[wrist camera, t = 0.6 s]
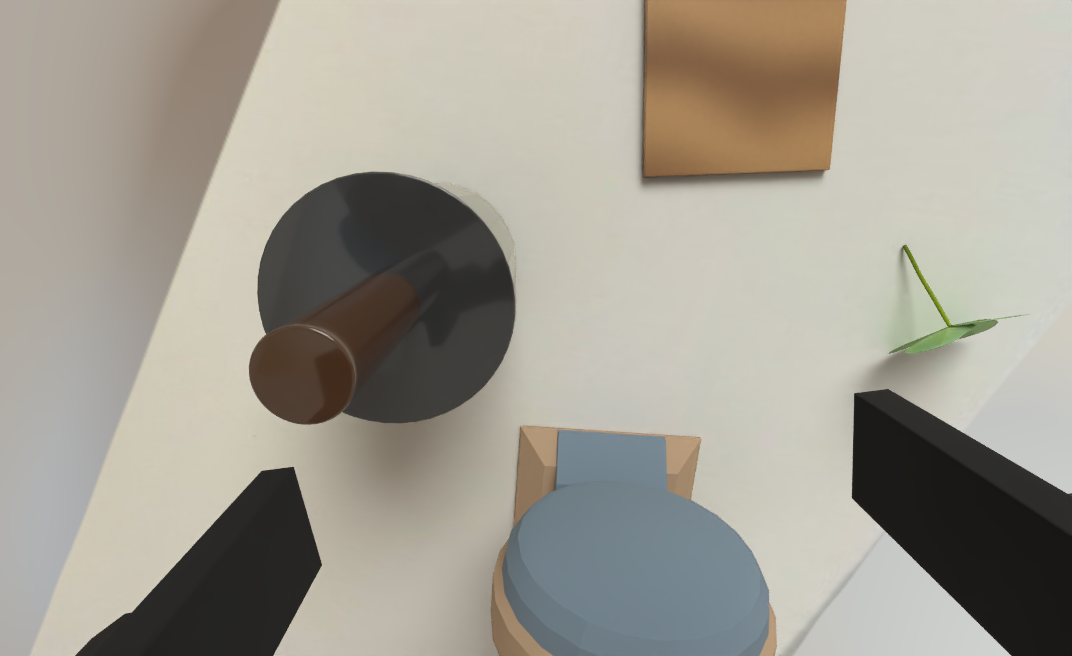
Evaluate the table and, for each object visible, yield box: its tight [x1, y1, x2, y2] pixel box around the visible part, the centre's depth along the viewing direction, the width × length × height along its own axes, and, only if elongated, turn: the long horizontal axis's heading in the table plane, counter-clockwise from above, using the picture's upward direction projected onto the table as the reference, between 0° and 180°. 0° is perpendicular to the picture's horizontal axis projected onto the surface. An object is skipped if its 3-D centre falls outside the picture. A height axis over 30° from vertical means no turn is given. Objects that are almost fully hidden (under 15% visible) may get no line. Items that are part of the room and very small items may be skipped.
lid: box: [249, 172, 516, 425], centre depth 18 cm, size 10×10×9 cm
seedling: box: [888, 245, 1028, 354], centre depth 33 cm, size 7×8×7 cm
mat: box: [643, 0, 847, 177], centre depth 31 cm, size 11×11×1 cm
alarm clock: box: [491, 426, 777, 656], centre depth 29 cm, size 14×10×18 cm
